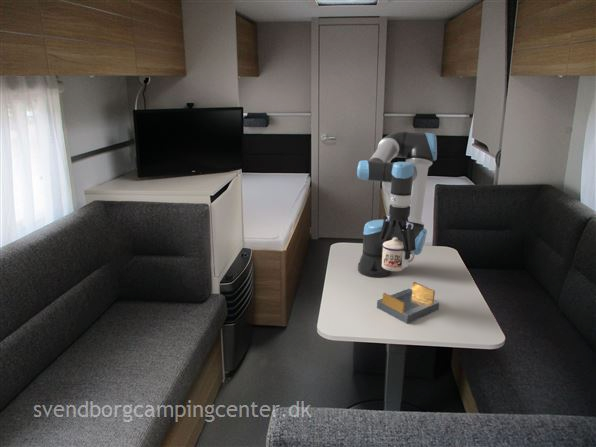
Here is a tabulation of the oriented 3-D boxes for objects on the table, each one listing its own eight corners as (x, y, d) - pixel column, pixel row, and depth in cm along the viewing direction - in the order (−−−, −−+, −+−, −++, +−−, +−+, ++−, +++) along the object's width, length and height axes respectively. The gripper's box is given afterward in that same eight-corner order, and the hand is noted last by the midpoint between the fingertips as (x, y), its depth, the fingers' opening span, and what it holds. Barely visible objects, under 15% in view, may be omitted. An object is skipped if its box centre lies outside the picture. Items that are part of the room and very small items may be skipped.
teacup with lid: (379, 270, 187) (381, 240, 183) (382, 261, 195) (383, 233, 192) (413, 273, 184) (415, 243, 180) (413, 265, 192) (416, 236, 189)
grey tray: (376, 307, 193) (378, 291, 191) (408, 295, 204) (409, 279, 202) (406, 323, 182) (408, 306, 180) (438, 309, 193) (440, 293, 190)
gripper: (372, 199, 190) (368, 255, 196) (414, 213, 173) (409, 274, 179) (386, 197, 194) (382, 252, 200) (429, 210, 177) (424, 270, 183)
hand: (395, 262), depth 190 cm, fingers closed on teacup with lid, 9 cm apart
